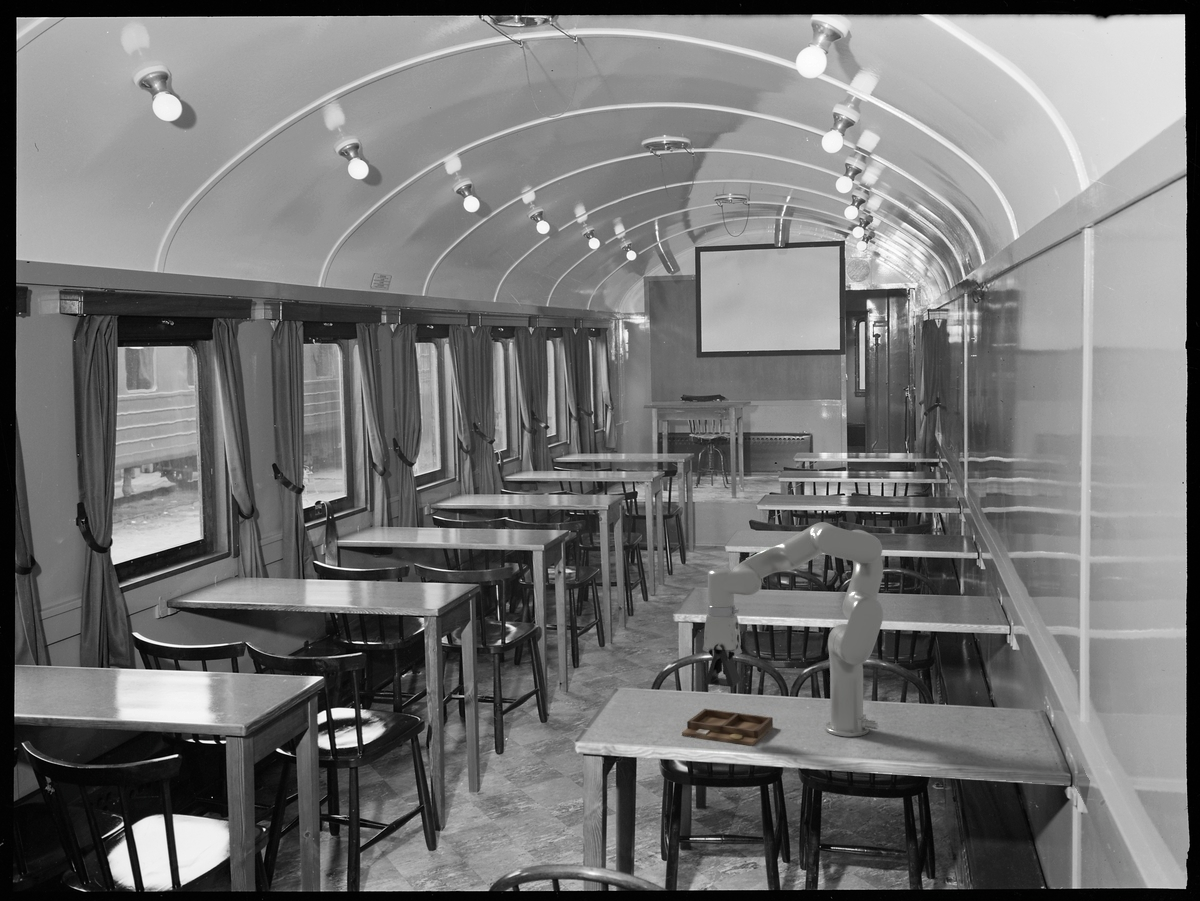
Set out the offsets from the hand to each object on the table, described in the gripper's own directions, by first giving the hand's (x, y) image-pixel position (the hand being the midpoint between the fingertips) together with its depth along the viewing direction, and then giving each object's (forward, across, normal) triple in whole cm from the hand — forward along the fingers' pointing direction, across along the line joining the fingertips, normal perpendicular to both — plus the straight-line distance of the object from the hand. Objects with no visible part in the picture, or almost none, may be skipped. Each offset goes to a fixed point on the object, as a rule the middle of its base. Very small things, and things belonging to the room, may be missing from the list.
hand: (722, 672), depth 315 cm
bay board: (+19, 0, -4) cm, 19 cm away
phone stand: (+3, 0, 0) cm, 3 cm away
